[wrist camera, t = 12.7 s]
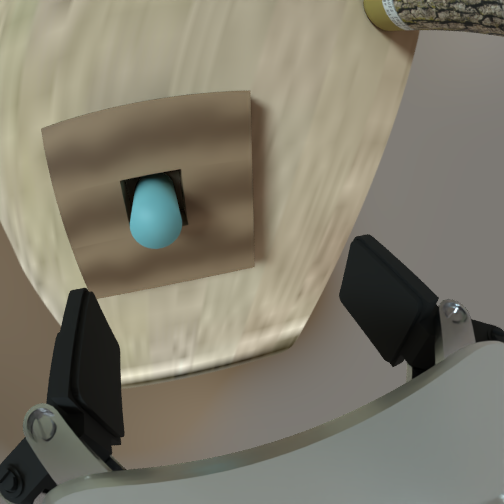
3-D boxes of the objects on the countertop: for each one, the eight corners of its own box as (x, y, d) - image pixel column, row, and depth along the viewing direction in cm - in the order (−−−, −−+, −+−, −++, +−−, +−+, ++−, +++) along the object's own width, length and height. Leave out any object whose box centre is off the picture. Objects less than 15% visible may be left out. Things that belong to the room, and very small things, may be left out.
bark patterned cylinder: (396, 37, 27) (560, 61, 7) (360, 22, 25) (545, 28, 5) (396, 1, 23) (552, 8, 3) (360, -17, 21) (531, -31, 1)
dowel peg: (132, 175, 28) (124, 206, 21) (171, 168, 29) (178, 195, 22) (139, 212, 30) (136, 253, 23) (176, 204, 31) (185, 243, 24)
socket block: (54, 123, 22) (41, 128, 18) (238, 90, 27) (250, 90, 23) (96, 279, 32) (92, 299, 29) (244, 250, 37) (254, 266, 34)
